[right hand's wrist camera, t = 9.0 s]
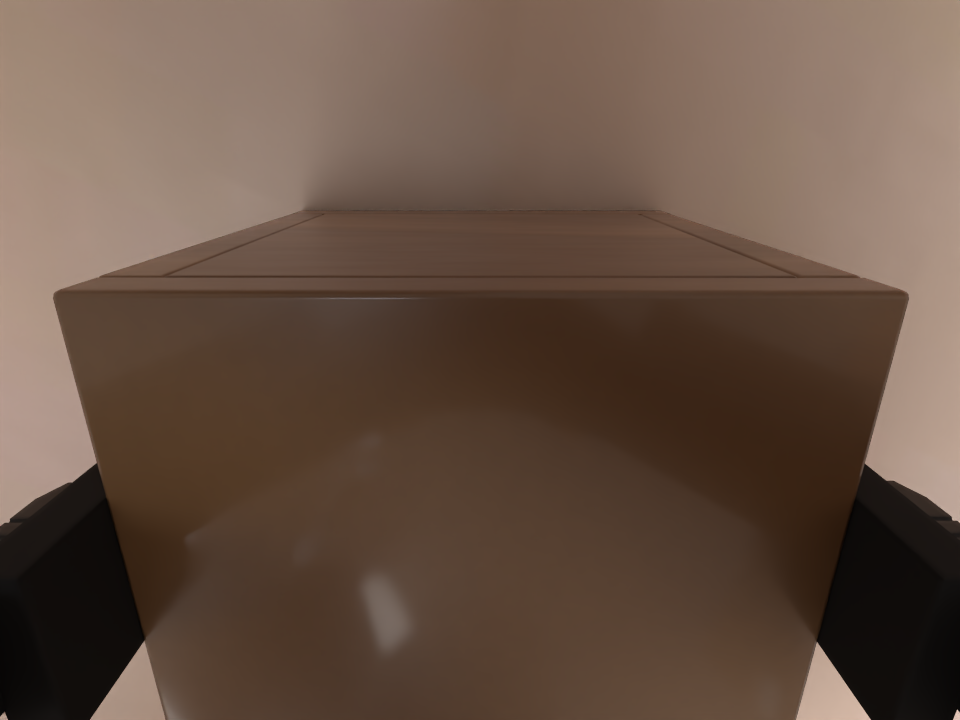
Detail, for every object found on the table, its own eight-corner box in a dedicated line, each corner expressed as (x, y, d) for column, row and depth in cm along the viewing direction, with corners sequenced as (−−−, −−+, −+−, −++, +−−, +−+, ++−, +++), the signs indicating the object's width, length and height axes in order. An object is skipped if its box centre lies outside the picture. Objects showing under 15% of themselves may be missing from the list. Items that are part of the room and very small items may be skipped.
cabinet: (606, 720, 24) (692, 1111, 14) (355, 720, 24) (268, 1109, 14) (661, 210, 17) (914, 291, 7) (300, 210, 17) (47, 291, 7)
